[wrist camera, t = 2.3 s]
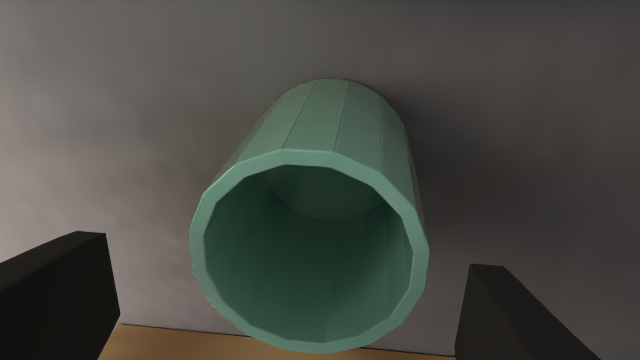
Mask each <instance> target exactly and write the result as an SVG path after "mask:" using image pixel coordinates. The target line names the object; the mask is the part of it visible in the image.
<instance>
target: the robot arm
mask: <svg viewBox="0 0 640 360" xmlns="http://www.w3.org/2000/svg"><path fill="white" fill-rule="evenodd" d="M119 316H120V309H119V303H118V298H117V293H116V287H115V282H114V276H113V271H112V266H111V260H110V255H109V249H108V244H107V239H106V233H95V232H83V231H75V232H73V233H70V234H67V235H64V236H61V237H59V238H56V239H54V240H51V241H49V242H47V243H44V244H42V245H40V246H37V247H35V248H33V249H31V250H28V251H26V252H24V253H22V254H19V255H17V256H15V257H13V258H11V259H8V260H6V261H4V262H2V263H0V360H98V358H99V356H100V354H101V352H102V350H103V348H104V346H105V345H106V343H107V341H108V339H109V337H110V335H111V333H112V331H113V329H114V327H115V324H116V322H117V320H118V318H119ZM454 347H455V356H456V360H601V359H599V358H598V357H597V356H596V355H595V354H594V353H593V352H592V351H591V350H590V349H588V348H587V347H586V346H585V345H584V344H583V343H582V342H581V341H580V340H579V339H578V338H577V337H575V336H574V335H573V334H572V333H571V332H570V331H569V330H568V329H567V328H566V327H565V326H564V325H563V324H562V323H561V322H560V321H559V320H558V319H557V318H556V317H555V316H554V315H553V314H552V313H551V312H550V311H549V310H548V309H547V308H546V307H545V306H544V305H543V304H542V303H541V302H540V301H538V300H537V299H536V298H535V297H534V296H533V295H532V294H531V293H530V292H529V291H528V290H527V289H526V287H525V286H524V285H523V284H522V283H521V282H520V281H518V280H517V279H516V278H515V277H514V276H513V275H512V274H511V273H510V272H509V271H508V270H507V269H506V268H505V267H504V266H495V265H483V264H471V263H470V267H469V273H468V278H467V283H466V288H465V294H464V299H463V304H462V309H461V315H460V320H459V325H458V331H457V336H456V341H455V346H454Z"/></svg>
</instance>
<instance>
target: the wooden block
mask: <svg viewBox="0 0 640 360" xmlns="http://www.w3.org/2000/svg"><path fill="white" fill-rule="evenodd" d="M98 360H456V357H446V356H435V355H425V354H415V353H405V352H395V351H385V350H375V349H365V348H354V349H349V350H344V351H340V352H335V353H330V354H317V353H308V352H298V351H288V350H284V349H280V348H277V347H275V346H273V345H270V344H268V343H265V342H263V341H261V340H258V339H256V338H253V337H243V336H233V335H223V334H213V333H203V332H193V331H182V330H172V329H162V328H152V327H142V326H132V325H122V324H119V325H118V326H117V327H116V328H115V330H114V331H113V333H112V334H111V335H110V337H109V339H108V341H107V343H106V345H105V346H104V348H103V350H102V352H101V354H100V356H99V358H98Z"/></svg>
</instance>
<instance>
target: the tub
mask: <svg viewBox="0 0 640 360" xmlns="http://www.w3.org/2000/svg"><path fill="white" fill-rule="evenodd" d="M189 242H190V251H191V261H192V270H193V273H194V275H195V277H196V278H197V280H198V282H199V284H200V285H201V287H202V289H203V291H204V293H205V294H206V296H207V298H208V300H209V301H210V303H211V305H212V306H213V307H214V308H215V309H216V310H217V311H218V312H219V313H221V314H222V315H223V316H224V317H225V318H226V319H228V320H229V321H230V322H231V323H232V324H233V325H235V326H236V327H237V328H238V329H239V330H241V331H242V332H243V333H245V334H246V335H249V336H251V337H253V338H256V339H258V340H261V341H263V342H265V343H268V344H270V345H273V346H275V347H277V348H280V349H284V350H288V351H298V352H308V353H317V354H330V353H335V352H340V351H344V350H349V349H354V348H359V347H363V346H366V345H369V344H371V343H372V342H374V341H375V340H377V339H379V338H380V337H382V336H383V335H385V334H387V333H388V332H390V331H392V330H393V329H395V328H396V327H398V326H400V325H401V324H402V323H403V321H404V320H405V319H406V317H407V316H408V314H409V313H410V311H411V310H412V308H413V307H414V306H415V304H416V303H417V301H418V300H419V298H420V297H421V295H422V294H423V293H424V290H425V284H426V277H427V270H428V263H429V256H430V248H429V242H428V237H427V231H426V226H425V220H424V215H423V209H422V204H421V198H420V193H419V187H418V182H417V176H416V171H415V165H414V160H413V154H412V149H411V146H410V143H409V140H408V136H407V132H406V129H405V127H404V124H403V122H402V120H401V119H400V117H399V115H398V113H397V112H396V111H395V110H394V108H393V107H392V106H391V105H390V104H389V103H388V102H387V101H386V100H385V99H384V98H383V97H382V96H380V95H379V94H378V93H376V92H375V91H373V90H371V89H370V88H368V87H366V86H364V85H361V84H359V83H356V82H352V81H348V80H344V79H335V78H330V79H317V80H312V81H308V82H305V83H302V84H300V85H297V86H295V87H293V88H291V89H290V90H288V91H286V92H285V93H284V94H282V95H281V96H280V97H279V98H277V99H276V100H275V102H274V103H273V104H272V105H271V106H270V107H269V108H268V109H267V110H266V111H265V112H264V113H263V114H262V116H261V117H260V118H259V120H258V121H257V122H256V124H255V125H254V126H253V128H252V129H251V130H250V132H249V133H248V134H247V136H246V137H245V138H244V140H243V141H242V142H241V144H240V145H239V146H238V148H237V149H236V150H235V152H234V153H233V154H232V156H231V157H230V158H229V160H228V161H227V162H226V164H225V165H224V166H223V168H222V169H221V170H220V172H219V173H218V174H217V176H216V177H215V178H214V180H213V181H212V182H211V184H210V185H209V186H208V188H207V189H206V190H205V192H204V193H203V194H202V197H201V199H200V202H199V205H198V207H197V210H196V213H195V215H194V218H193V221H192V223H191V226H190V229H189Z"/></svg>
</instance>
